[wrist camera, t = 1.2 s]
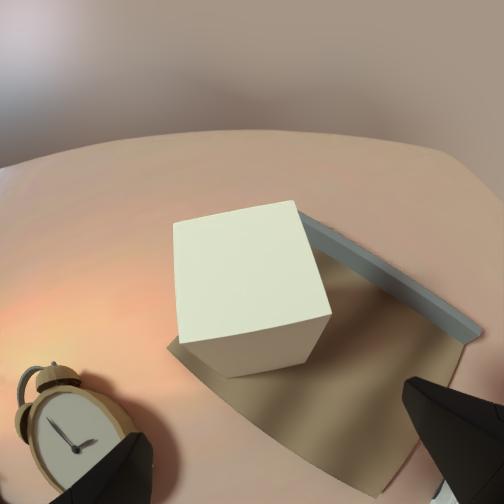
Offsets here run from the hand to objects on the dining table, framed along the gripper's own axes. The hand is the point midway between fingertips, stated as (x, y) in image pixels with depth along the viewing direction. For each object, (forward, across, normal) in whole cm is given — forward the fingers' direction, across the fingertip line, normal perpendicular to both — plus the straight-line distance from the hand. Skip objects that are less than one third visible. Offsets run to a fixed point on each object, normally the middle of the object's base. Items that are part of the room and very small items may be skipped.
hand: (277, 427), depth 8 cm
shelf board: (+12, -5, +7) cm, 14 cm away
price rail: (+15, -11, +3) cm, 19 cm away
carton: (+13, 0, +4) cm, 14 cm away
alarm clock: (+9, +18, +10) cm, 22 cm away
